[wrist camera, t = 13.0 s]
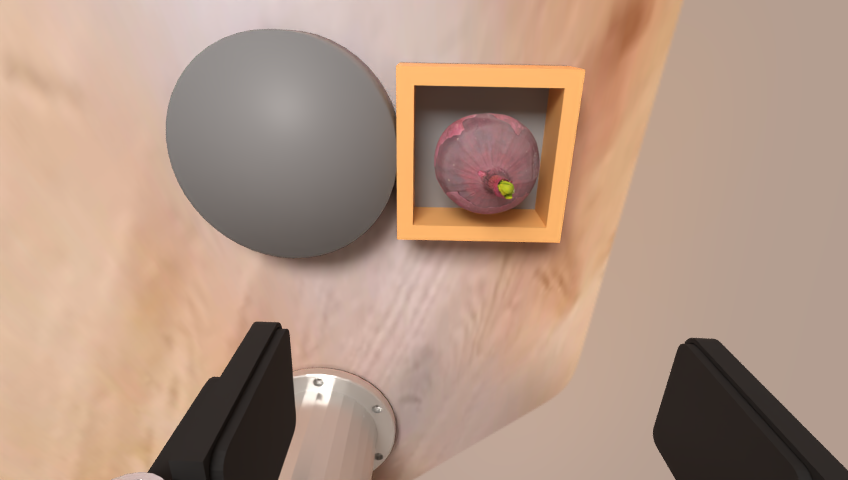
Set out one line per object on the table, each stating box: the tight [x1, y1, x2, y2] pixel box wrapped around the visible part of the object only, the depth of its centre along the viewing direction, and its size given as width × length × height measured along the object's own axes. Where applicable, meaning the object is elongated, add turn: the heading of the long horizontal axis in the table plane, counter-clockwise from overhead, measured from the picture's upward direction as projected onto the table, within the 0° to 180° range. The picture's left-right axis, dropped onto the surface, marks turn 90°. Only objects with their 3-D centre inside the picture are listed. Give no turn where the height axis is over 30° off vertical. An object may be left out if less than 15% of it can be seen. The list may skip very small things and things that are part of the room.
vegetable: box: [434, 113, 540, 214], centre depth 27 cm, size 6×6×10 cm
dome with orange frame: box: [166, 29, 585, 258], centre depth 30 cm, size 14×24×4 cm, turn 89°
